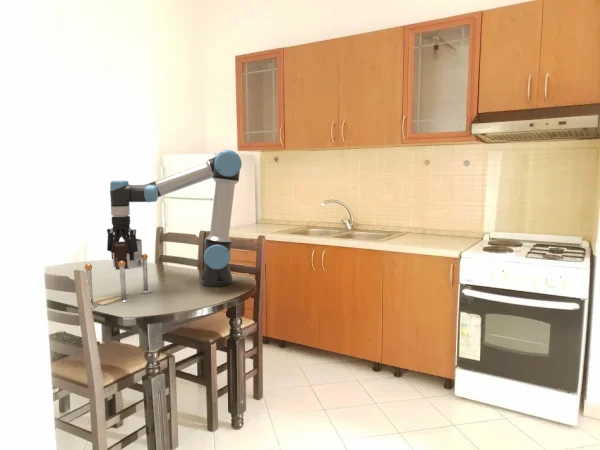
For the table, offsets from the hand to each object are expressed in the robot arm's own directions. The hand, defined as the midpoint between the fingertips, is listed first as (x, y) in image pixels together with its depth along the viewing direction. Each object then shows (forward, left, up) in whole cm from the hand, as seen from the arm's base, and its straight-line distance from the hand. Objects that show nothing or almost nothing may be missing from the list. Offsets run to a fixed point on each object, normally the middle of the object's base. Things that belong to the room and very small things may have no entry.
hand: (123, 267), depth 194 cm
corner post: (-6, +7, -13) cm, 16 cm away
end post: (0, +19, -13) cm, 23 cm away
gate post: (-6, -7, -13) cm, 16 cm away
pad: (0, +11, -13) cm, 17 cm away
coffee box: (+40, -52, -13) cm, 67 cm away
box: (0, 0, -1) cm, 1 cm away
